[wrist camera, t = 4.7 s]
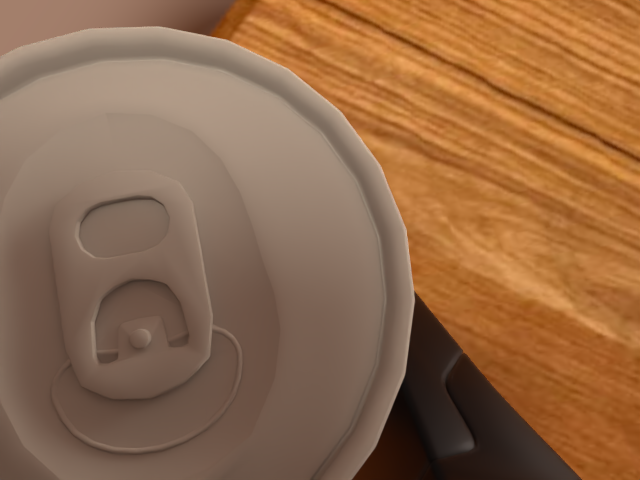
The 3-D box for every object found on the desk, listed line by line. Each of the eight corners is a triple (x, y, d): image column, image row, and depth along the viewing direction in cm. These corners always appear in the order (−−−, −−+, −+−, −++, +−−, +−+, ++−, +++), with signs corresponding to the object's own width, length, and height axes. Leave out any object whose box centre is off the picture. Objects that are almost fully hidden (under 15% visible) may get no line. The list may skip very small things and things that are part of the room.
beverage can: (192, 398, 15) (-204, 744, 3) (167, 257, 15) (-226, 55, 4) (333, 364, 15) (504, 531, 3) (303, 230, 16) (356, -27, 4)
